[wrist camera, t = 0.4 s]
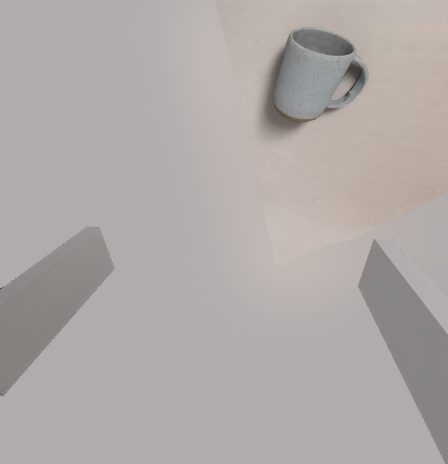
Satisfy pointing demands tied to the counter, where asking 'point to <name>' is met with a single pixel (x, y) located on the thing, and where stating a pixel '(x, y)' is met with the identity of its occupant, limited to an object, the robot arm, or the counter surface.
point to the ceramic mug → (315, 73)
